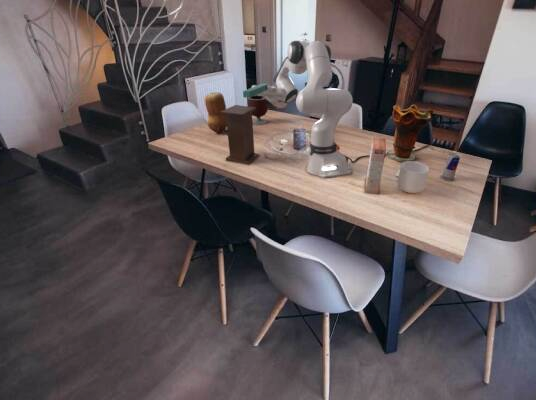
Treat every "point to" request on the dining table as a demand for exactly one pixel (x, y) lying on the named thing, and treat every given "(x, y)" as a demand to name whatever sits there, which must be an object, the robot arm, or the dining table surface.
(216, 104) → the butternut squash
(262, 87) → the batten
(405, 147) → the decorative vase
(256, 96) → the mate gourd
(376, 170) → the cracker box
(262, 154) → the dining table surface
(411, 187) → the handleless ceramic cup
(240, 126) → the plinth
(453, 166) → the energy drink
